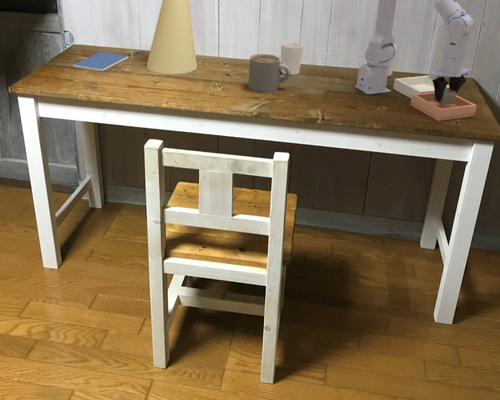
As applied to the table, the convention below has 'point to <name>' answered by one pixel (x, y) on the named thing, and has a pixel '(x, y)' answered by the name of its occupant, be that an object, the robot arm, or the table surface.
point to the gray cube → (446, 97)
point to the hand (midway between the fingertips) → (444, 99)
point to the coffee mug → (266, 73)
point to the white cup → (291, 56)
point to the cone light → (173, 40)
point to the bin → (443, 107)
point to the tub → (414, 85)
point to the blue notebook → (100, 61)
